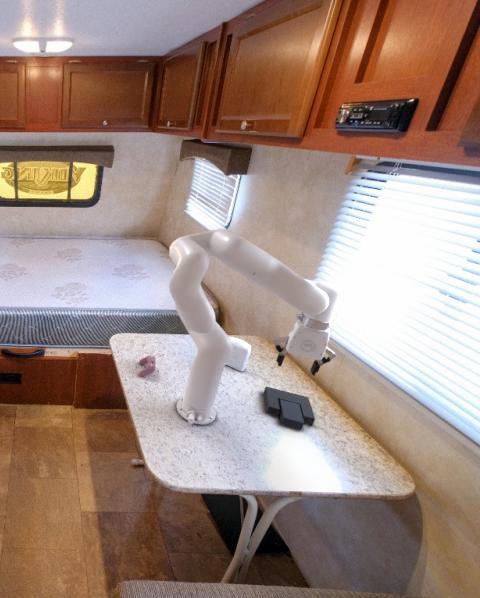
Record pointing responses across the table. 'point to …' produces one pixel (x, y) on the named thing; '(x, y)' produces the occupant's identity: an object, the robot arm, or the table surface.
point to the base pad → (275, 395)
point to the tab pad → (290, 414)
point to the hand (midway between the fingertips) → (295, 368)
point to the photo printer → (239, 354)
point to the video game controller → (148, 365)
